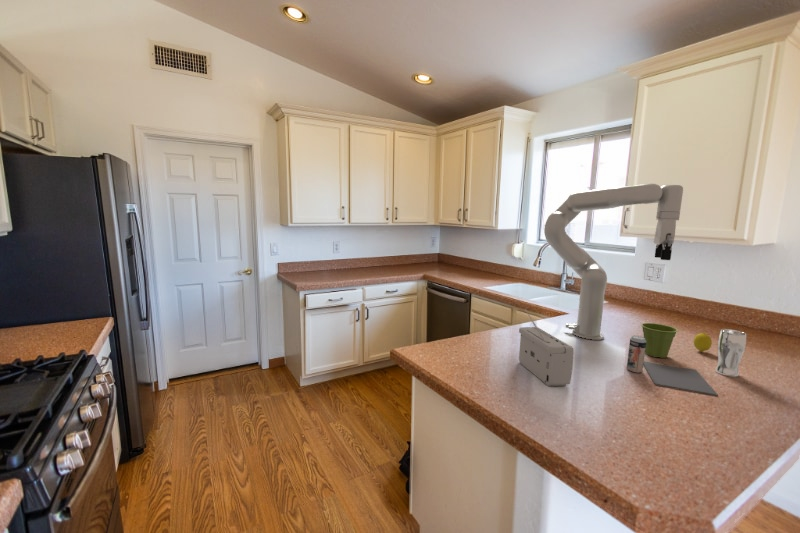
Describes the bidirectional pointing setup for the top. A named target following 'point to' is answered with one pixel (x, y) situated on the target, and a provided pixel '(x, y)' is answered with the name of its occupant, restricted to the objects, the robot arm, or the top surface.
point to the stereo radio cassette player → (545, 356)
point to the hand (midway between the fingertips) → (662, 258)
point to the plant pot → (658, 339)
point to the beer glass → (730, 351)
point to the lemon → (702, 342)
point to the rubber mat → (678, 378)
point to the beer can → (636, 354)
